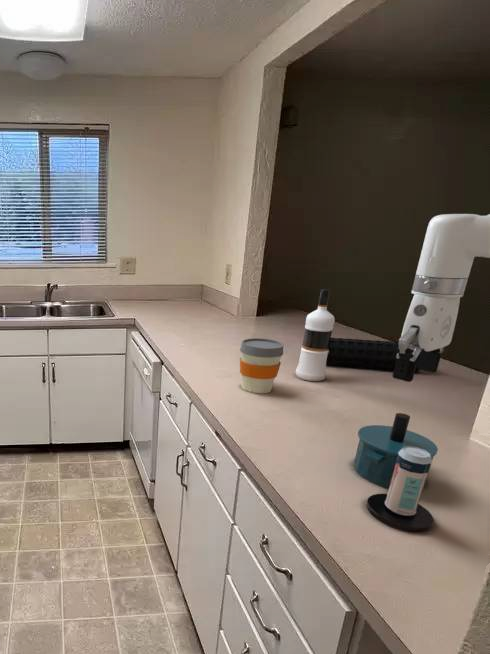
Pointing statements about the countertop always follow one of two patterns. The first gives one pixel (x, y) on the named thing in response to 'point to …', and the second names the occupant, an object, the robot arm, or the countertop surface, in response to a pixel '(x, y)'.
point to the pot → (375, 465)
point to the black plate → (407, 523)
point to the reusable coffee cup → (259, 364)
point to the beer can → (408, 480)
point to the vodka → (316, 342)
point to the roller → (364, 353)
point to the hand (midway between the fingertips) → (414, 375)
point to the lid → (395, 437)
